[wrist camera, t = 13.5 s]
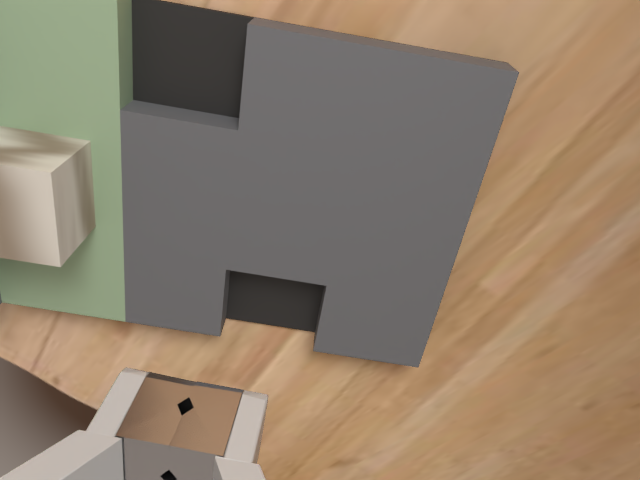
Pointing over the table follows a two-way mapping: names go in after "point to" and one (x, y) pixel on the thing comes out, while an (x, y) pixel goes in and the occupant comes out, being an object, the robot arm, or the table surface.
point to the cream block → (44, 196)
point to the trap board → (253, 169)
